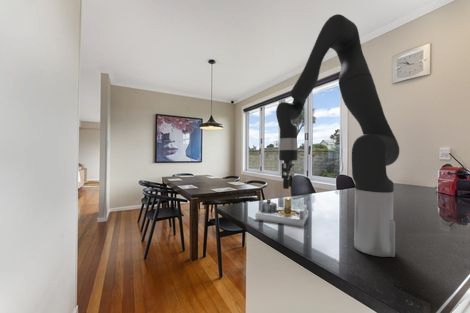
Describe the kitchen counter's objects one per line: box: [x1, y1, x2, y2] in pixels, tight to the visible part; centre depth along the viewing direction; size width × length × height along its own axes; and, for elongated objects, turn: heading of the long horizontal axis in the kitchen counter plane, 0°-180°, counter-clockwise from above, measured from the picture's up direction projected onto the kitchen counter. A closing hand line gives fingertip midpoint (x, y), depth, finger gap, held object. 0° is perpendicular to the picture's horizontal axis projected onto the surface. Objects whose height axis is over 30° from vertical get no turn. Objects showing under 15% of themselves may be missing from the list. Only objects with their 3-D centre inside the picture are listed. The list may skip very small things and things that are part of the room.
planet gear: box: [278, 197, 297, 216], centre depth 89 cm, size 8×8×8 cm
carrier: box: [255, 198, 309, 228], centre depth 90 cm, size 19×16×7 cm
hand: (288, 187), depth 89 cm, fingers open, 8 cm apart
